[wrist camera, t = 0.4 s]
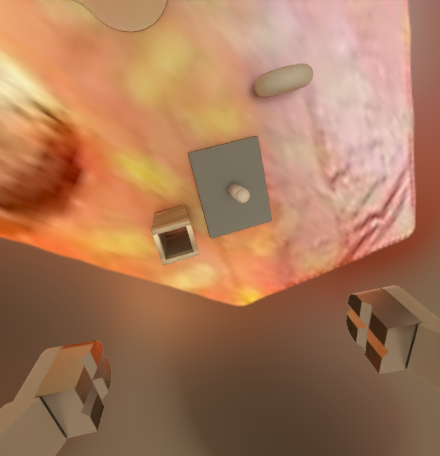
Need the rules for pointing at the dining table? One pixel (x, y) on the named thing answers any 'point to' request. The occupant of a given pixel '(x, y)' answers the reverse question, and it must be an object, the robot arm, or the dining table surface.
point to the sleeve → (175, 244)
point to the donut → (283, 80)
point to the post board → (224, 174)
